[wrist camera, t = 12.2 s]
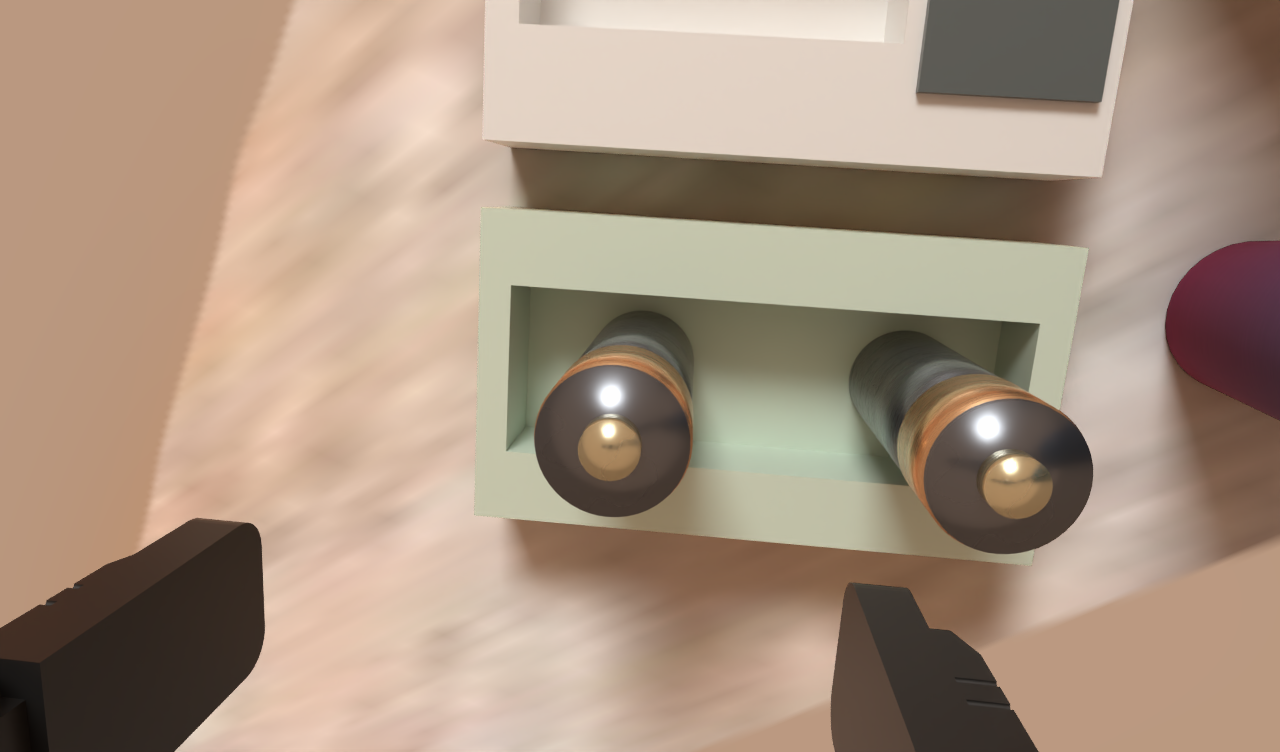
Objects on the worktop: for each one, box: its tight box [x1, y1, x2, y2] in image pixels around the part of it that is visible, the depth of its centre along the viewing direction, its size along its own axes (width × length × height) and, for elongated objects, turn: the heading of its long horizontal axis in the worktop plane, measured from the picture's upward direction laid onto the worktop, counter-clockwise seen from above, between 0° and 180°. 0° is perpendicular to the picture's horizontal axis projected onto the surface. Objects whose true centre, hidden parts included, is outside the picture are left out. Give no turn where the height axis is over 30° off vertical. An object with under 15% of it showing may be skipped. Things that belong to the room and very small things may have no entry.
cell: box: [534, 311, 694, 517], centre depth 23 cm, size 4×4×11 cm
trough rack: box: [474, 207, 1089, 566], centre depth 27 cm, size 18×10×4 cm, turn 86°
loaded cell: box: [849, 330, 1093, 554], centre depth 23 cm, size 4×4×11 cm
